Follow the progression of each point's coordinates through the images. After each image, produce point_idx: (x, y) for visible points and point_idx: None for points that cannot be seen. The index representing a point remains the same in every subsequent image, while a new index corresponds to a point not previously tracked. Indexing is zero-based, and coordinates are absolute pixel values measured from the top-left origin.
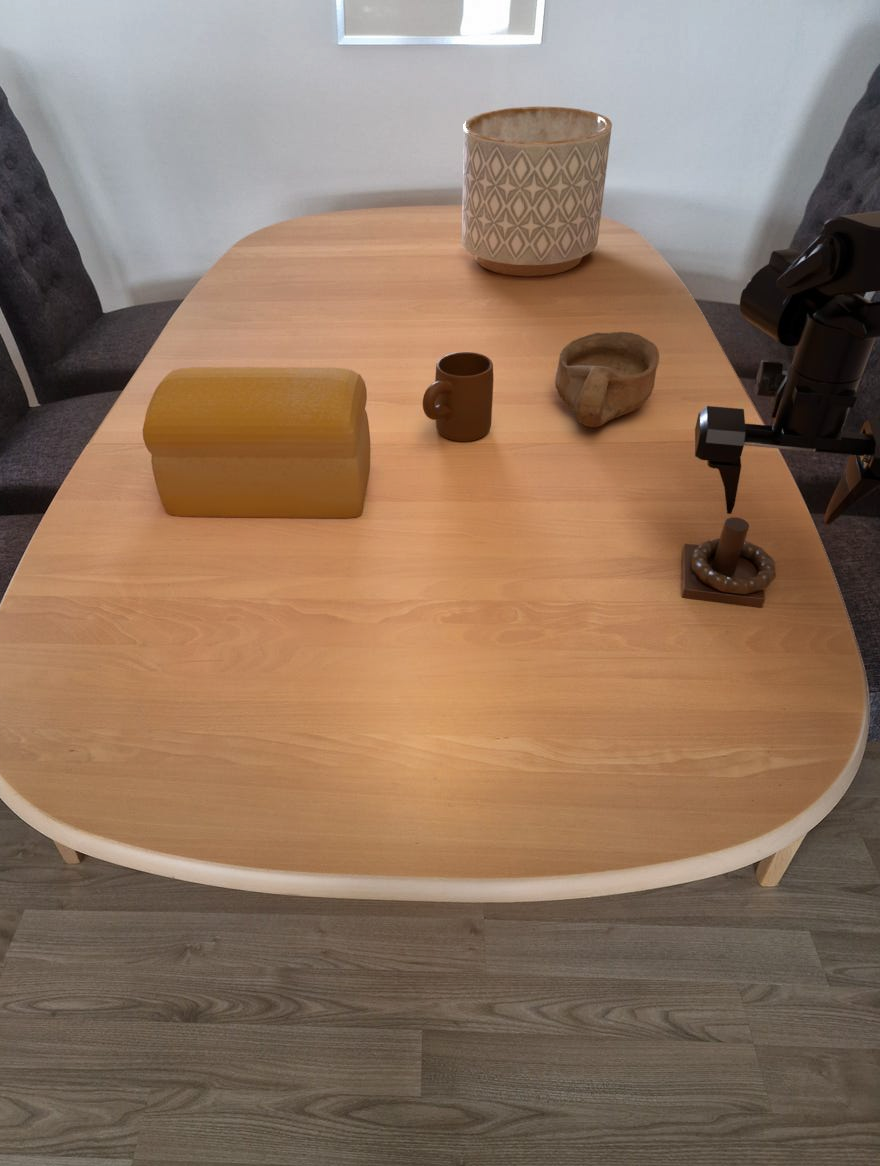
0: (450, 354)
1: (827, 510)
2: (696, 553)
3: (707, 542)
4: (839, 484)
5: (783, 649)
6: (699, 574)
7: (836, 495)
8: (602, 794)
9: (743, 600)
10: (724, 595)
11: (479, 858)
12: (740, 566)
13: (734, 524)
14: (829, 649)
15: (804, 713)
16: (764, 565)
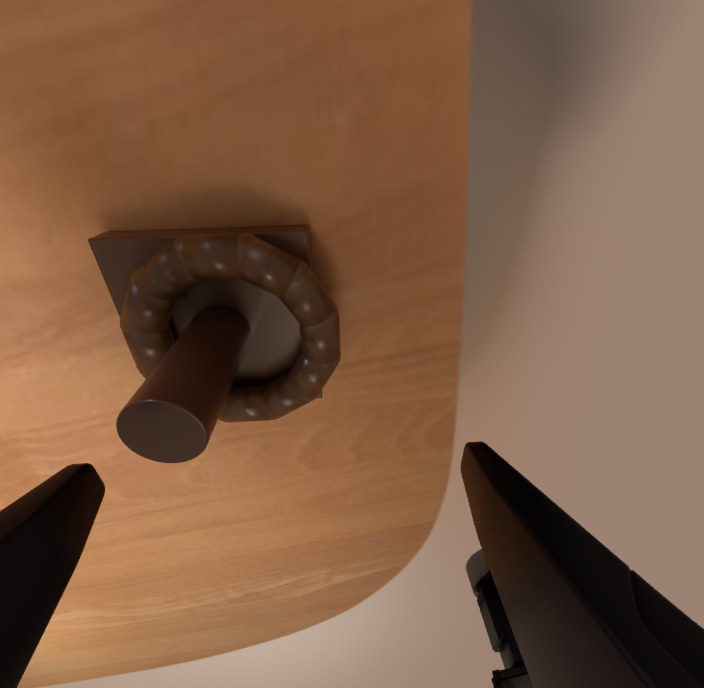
0: None
1: (480, 482)
2: (128, 344)
3: (139, 292)
4: (583, 626)
5: (355, 457)
6: None
7: (533, 585)
8: (186, 626)
9: None
10: None
11: (119, 667)
12: (260, 308)
13: (155, 438)
14: (426, 443)
15: (373, 533)
16: (309, 351)
